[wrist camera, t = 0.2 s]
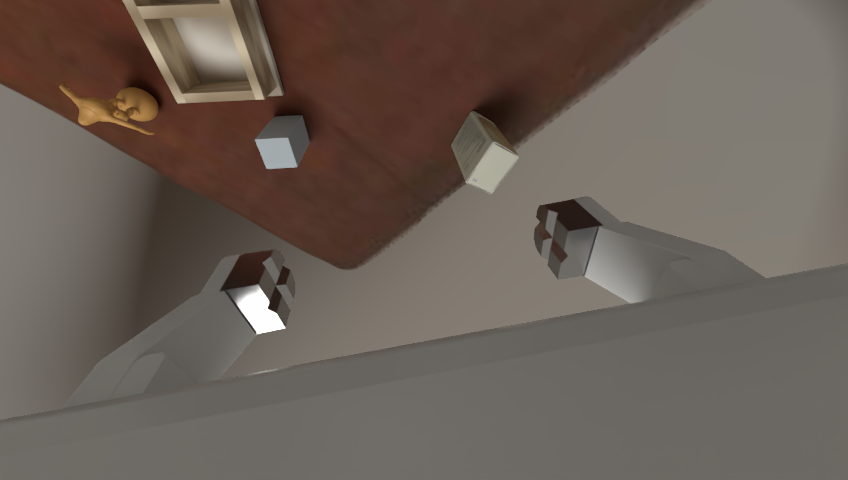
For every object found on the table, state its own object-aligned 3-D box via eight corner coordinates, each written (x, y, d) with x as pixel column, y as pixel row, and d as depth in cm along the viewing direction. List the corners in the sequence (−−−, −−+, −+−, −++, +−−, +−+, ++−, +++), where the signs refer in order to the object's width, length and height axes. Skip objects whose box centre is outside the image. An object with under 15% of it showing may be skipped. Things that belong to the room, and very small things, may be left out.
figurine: (105, 89, 39) (19, 122, 30) (116, 49, 36) (26, 73, 27) (177, 131, 43) (121, 172, 34) (192, 98, 41) (135, 133, 32)
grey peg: (273, 116, 43) (254, 139, 37) (302, 115, 43) (287, 137, 37) (283, 143, 46) (266, 168, 40) (309, 142, 46) (297, 167, 40)
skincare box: (471, 156, 50) (490, 197, 40) (449, 144, 48) (463, 184, 39) (495, 121, 46) (522, 157, 37) (472, 107, 44) (494, 141, 35)
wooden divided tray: (97, -120, 28) (41, -139, 24) (219, -122, 29) (186, -140, 24) (201, 97, 41) (178, 112, 36) (284, 93, 41) (271, 107, 37)
